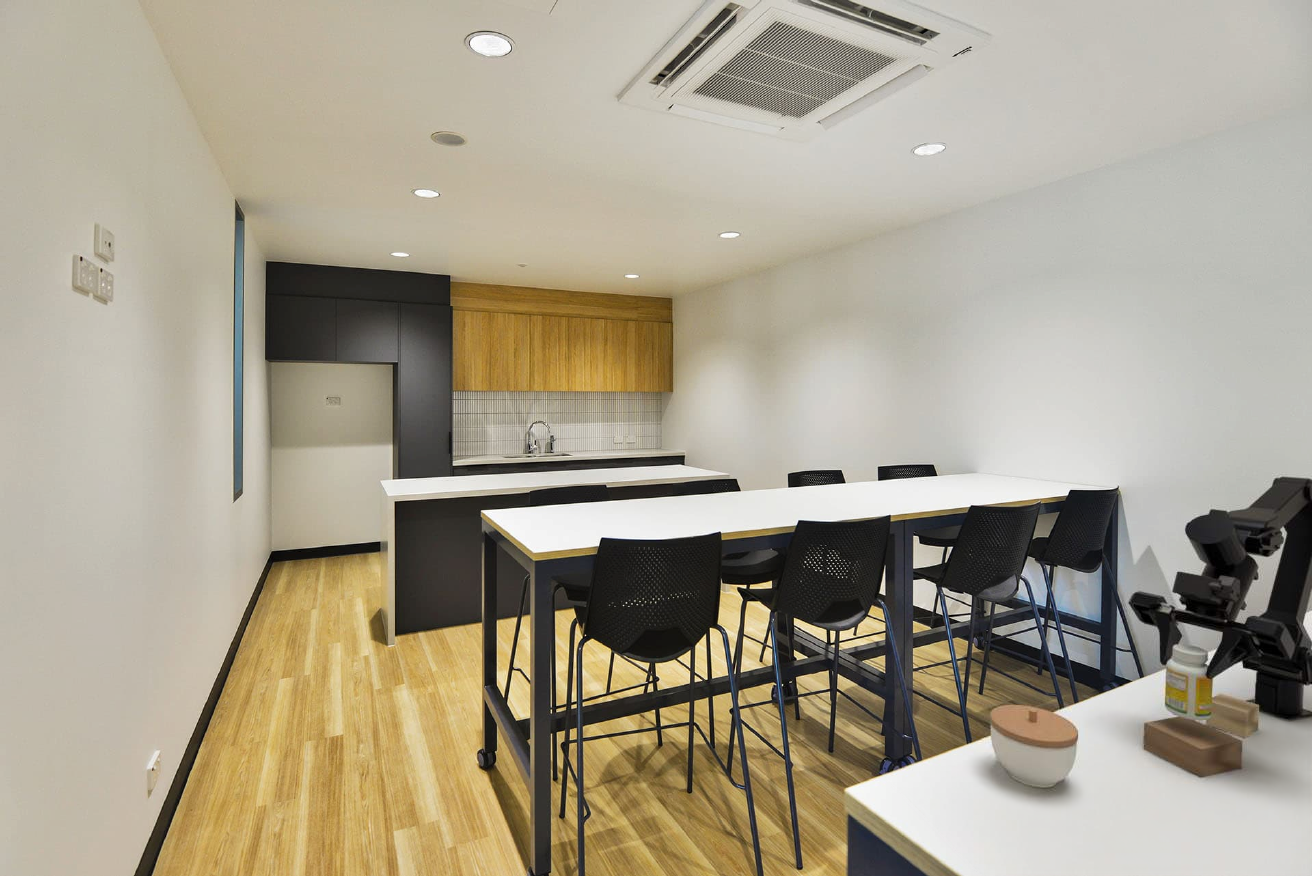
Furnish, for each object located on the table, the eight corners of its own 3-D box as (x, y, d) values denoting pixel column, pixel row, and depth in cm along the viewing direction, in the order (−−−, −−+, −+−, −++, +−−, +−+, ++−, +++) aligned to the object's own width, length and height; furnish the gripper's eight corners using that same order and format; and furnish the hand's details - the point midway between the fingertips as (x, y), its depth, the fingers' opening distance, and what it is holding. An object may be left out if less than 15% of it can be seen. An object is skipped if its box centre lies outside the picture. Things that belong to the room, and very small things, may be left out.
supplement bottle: (1167, 716, 96) (1168, 651, 96) (1162, 701, 101) (1164, 640, 100) (1215, 725, 93) (1217, 658, 93) (1208, 709, 98) (1210, 646, 97)
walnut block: (1182, 740, 102) (1183, 715, 102) (1241, 768, 94) (1242, 740, 94) (1143, 748, 100) (1144, 722, 99) (1200, 777, 92) (1201, 749, 92)
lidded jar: (1026, 802, 86) (1028, 732, 86) (972, 759, 97) (973, 697, 96) (1096, 792, 88) (1098, 724, 88) (1035, 751, 99) (1037, 690, 98)
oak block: (1219, 717, 109) (1220, 693, 109) (1258, 729, 105) (1259, 705, 105) (1206, 724, 107) (1207, 700, 107) (1245, 737, 103) (1246, 712, 102)
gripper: (1136, 541, 106) (1095, 620, 101) (1288, 565, 89) (1248, 661, 85) (1160, 582, 110) (1122, 660, 105) (1311, 613, 93) (1273, 707, 89)
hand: (1184, 670), depth 96 cm, fingers closed on supplement bottle, 5 cm apart
